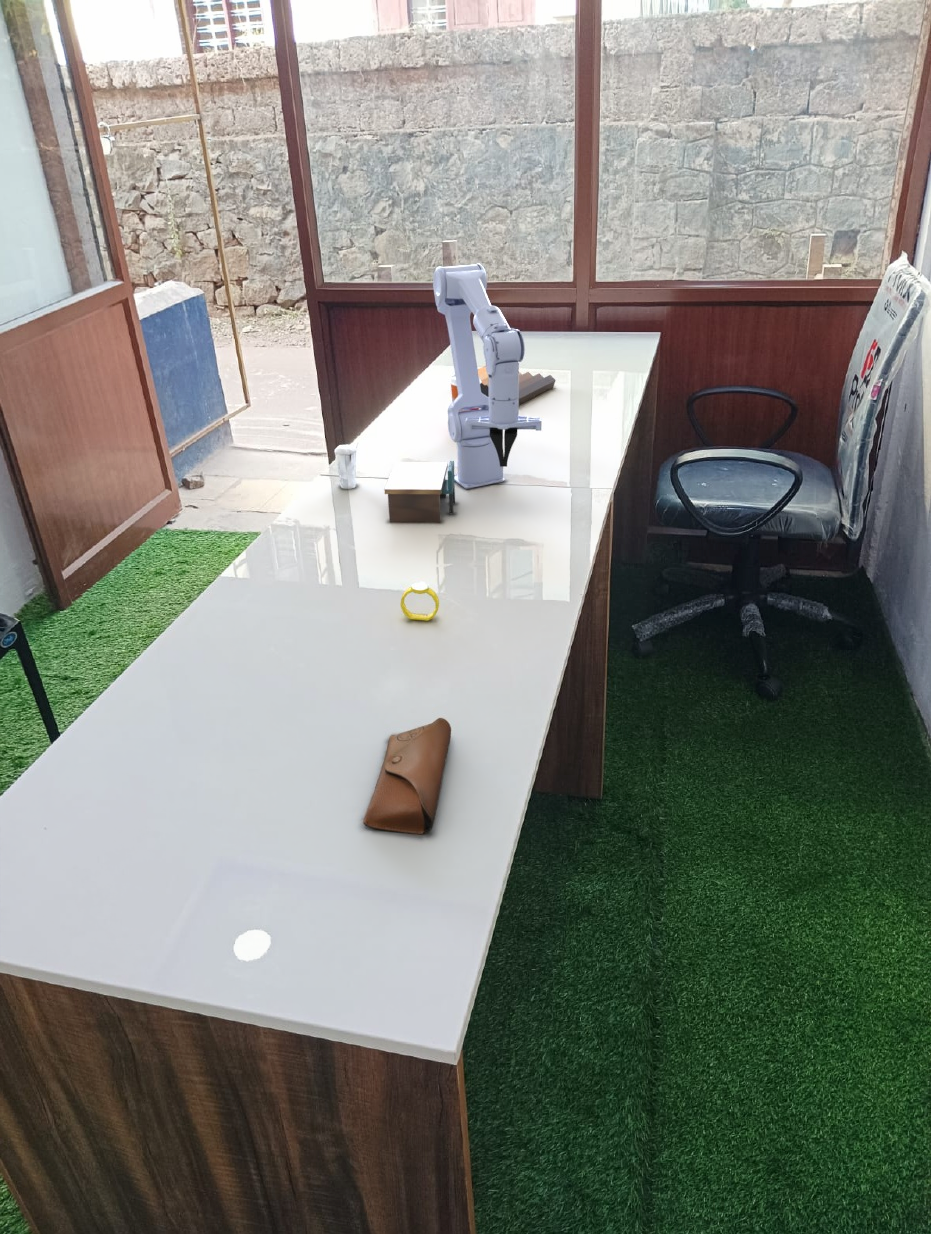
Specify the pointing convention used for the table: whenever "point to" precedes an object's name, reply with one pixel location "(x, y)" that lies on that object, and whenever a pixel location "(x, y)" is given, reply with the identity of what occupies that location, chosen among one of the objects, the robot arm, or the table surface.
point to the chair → (450, 486)
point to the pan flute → (521, 384)
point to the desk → (416, 492)
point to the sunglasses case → (410, 780)
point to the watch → (419, 589)
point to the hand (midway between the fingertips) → (503, 464)
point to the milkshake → (346, 465)
